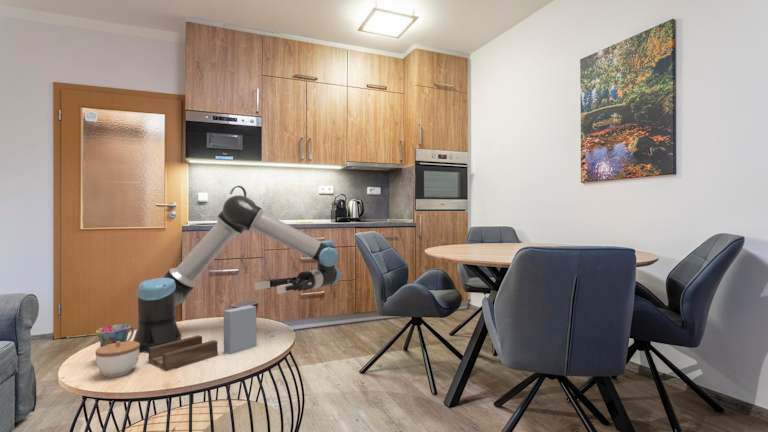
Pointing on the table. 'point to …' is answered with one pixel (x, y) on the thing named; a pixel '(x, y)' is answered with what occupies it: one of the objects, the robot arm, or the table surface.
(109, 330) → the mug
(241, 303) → the plastic cup
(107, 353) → the lidded jar
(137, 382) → the table surface
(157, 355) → the walnut rack
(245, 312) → the slate tile
